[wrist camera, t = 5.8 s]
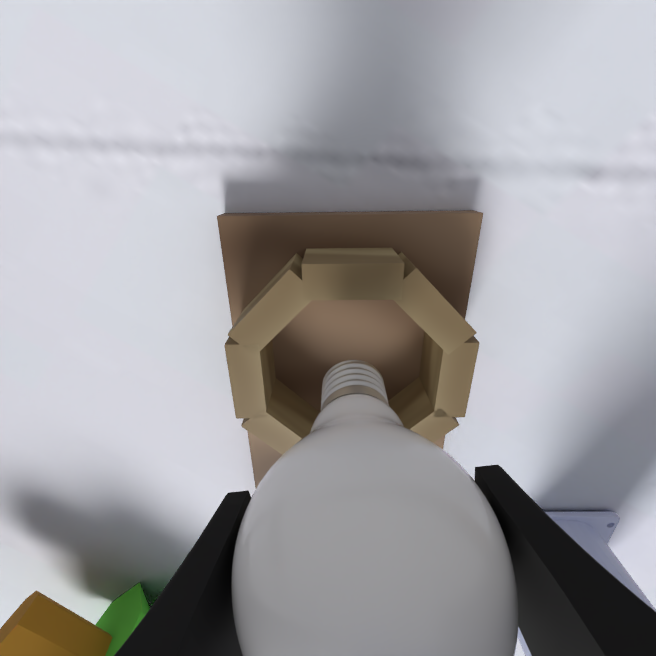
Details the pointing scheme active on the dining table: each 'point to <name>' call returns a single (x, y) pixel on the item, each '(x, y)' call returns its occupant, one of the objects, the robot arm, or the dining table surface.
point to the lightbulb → (370, 542)
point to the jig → (347, 316)
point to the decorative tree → (70, 627)
